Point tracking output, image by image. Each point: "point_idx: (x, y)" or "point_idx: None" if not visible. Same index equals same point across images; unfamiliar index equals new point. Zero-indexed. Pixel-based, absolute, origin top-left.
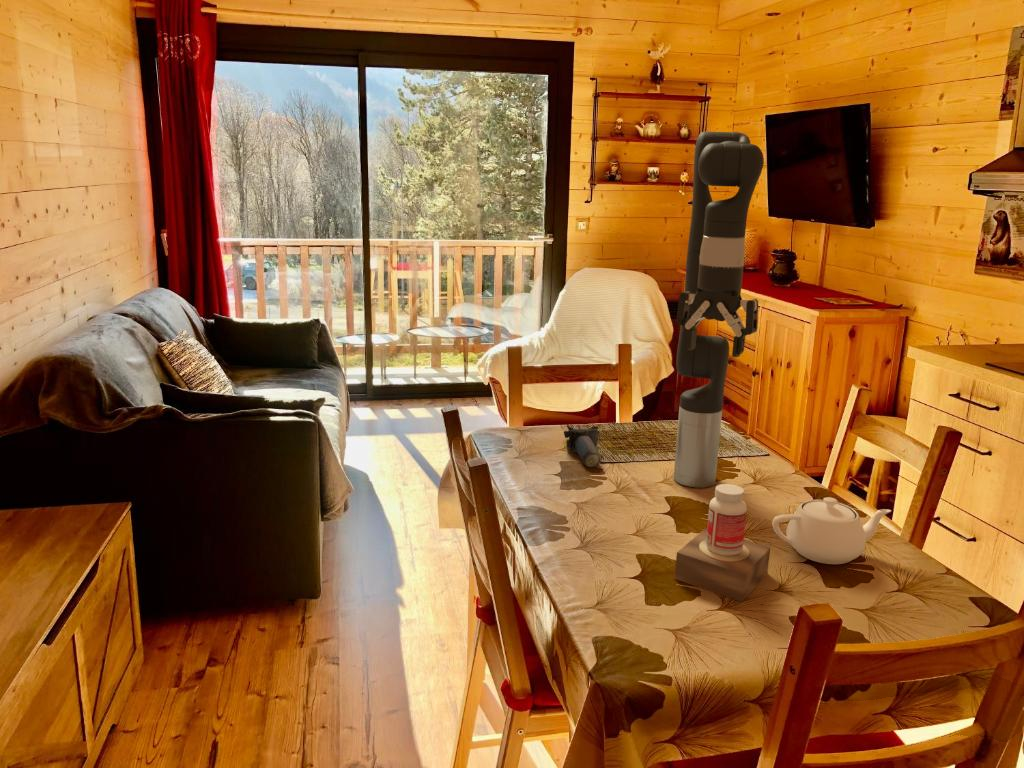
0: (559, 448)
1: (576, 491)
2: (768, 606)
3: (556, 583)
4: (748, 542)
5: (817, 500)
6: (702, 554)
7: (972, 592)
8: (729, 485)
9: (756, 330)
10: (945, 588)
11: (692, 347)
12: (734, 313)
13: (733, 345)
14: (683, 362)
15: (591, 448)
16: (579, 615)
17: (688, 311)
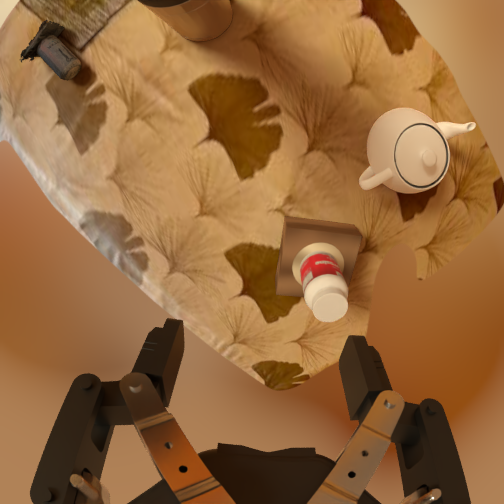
0: None
1: (95, 147)
2: (359, 279)
3: (193, 328)
4: (339, 236)
5: (408, 126)
6: (300, 286)
7: (496, 173)
8: (328, 298)
9: (439, 408)
10: (483, 175)
11: (182, 344)
12: (357, 474)
13: (346, 393)
14: None
15: (60, 66)
16: (231, 353)
17: (89, 429)
